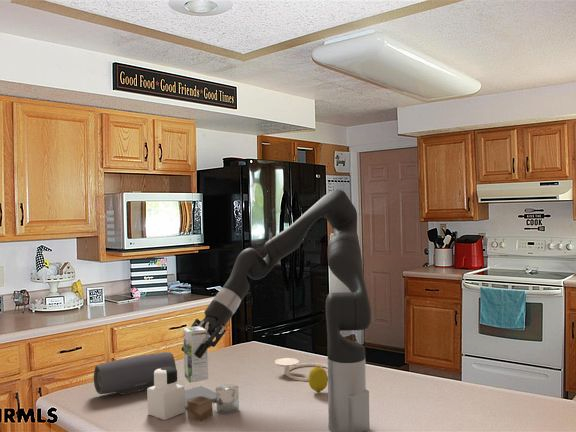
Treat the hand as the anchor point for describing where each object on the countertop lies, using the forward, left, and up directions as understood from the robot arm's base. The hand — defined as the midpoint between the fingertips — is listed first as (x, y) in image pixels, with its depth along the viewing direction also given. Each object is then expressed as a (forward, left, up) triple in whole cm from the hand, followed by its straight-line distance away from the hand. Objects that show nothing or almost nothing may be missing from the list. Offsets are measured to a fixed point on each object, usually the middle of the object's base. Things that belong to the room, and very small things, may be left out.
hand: (190, 354), depth 156 cm
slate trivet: (0, -1, -13) cm, 13 cm away
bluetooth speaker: (+19, +8, -13) cm, 24 cm away
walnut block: (-13, +5, -13) cm, 19 cm away
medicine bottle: (-5, +10, -13) cm, 18 cm away
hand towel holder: (-5, -40, -13) cm, 42 cm away
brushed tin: (-14, -3, -13) cm, 19 cm away
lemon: (-21, -30, -13) cm, 39 cm away
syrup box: (0, -2, -8) cm, 8 cm away
